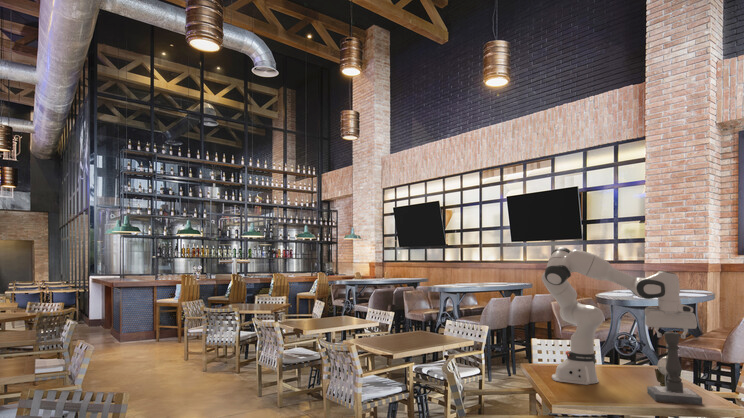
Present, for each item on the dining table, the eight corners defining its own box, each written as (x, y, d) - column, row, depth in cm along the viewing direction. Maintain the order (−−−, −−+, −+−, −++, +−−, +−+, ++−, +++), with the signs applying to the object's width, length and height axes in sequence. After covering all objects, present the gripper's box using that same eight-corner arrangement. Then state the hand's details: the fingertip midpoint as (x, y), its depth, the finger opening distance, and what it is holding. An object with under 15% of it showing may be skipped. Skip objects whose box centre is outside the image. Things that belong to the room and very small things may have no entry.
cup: (675, 388, 235) (674, 371, 235) (659, 387, 236) (658, 371, 237) (669, 384, 242) (668, 368, 243) (653, 384, 243) (652, 367, 244)
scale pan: (660, 394, 213) (660, 391, 214) (653, 388, 224) (653, 385, 224) (696, 397, 209) (696, 394, 209) (688, 390, 220) (688, 388, 220)
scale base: (655, 401, 214) (653, 360, 216) (647, 392, 227) (645, 354, 229) (702, 404, 208) (699, 363, 210) (691, 396, 222) (689, 357, 224)
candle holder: (683, 392, 212) (679, 334, 215) (666, 390, 216) (663, 333, 218) (682, 389, 218) (679, 332, 220) (666, 387, 221) (663, 331, 224)
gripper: (645, 306, 221) (647, 337, 219) (697, 308, 215) (699, 340, 213) (642, 305, 227) (644, 335, 225) (692, 307, 221) (694, 338, 219)
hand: (671, 337), depth 219 cm, fingers open, 8 cm apart
